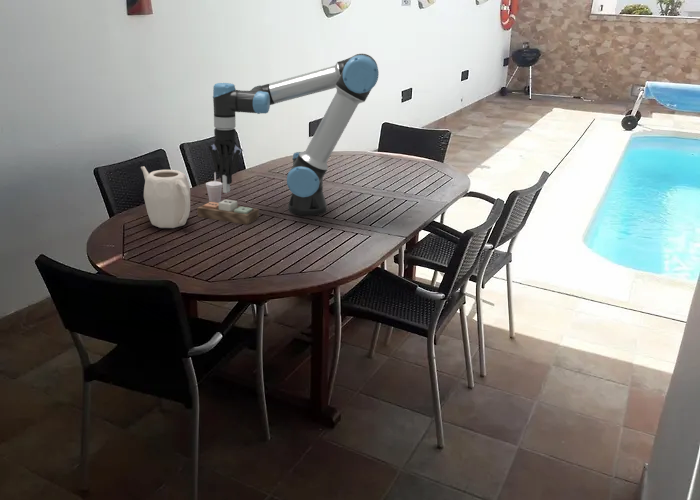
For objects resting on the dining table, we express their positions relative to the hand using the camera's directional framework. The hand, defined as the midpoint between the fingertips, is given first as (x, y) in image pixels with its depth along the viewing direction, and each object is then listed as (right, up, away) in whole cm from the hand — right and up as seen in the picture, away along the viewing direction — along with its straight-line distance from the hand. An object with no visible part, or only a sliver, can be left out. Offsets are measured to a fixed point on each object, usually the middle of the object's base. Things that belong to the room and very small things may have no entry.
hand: (226, 191), depth 225 cm
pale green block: (+6, -10, +1) cm, 12 cm away
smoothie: (-7, -5, +15) cm, 17 cm away
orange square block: (-6, -8, +5) cm, 11 cm away
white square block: (0, -7, +3) cm, 7 cm away
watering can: (-20, -12, -5) cm, 24 cm away
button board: (0, -9, +4) cm, 10 cm away
